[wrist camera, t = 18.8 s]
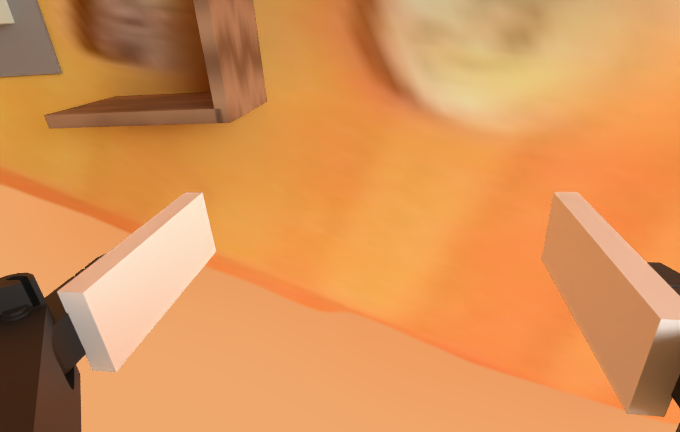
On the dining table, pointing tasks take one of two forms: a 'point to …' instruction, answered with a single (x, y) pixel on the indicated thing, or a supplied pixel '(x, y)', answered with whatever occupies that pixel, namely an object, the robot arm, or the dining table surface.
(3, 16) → the beige block
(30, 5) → the grey mat
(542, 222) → the dining table surface
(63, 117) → the open box
